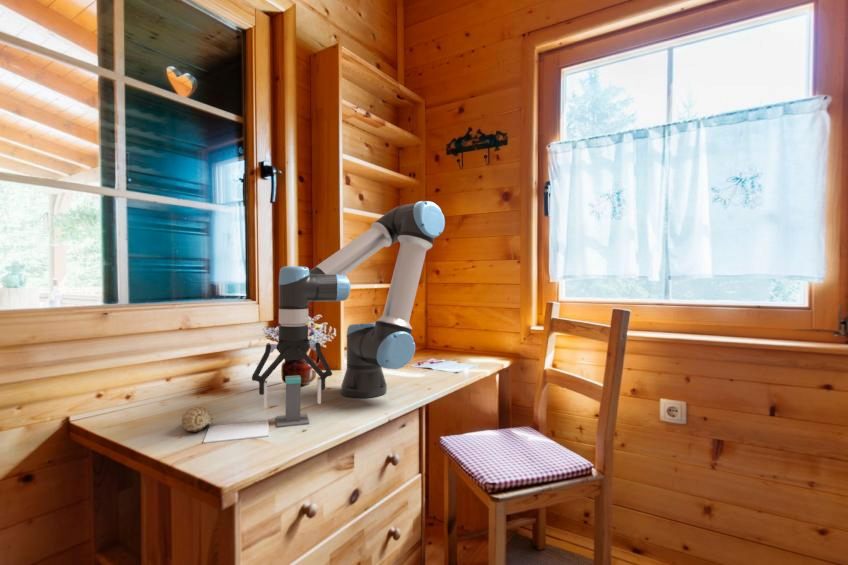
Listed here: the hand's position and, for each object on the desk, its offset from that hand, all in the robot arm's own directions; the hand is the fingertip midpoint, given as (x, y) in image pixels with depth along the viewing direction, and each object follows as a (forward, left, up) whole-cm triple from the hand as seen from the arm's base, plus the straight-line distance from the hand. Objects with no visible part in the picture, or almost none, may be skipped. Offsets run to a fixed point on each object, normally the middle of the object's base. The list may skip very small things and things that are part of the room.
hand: (292, 404), depth 115 cm
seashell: (+23, -1, -4) cm, 24 cm away
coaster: (0, 0, -4) cm, 4 cm away
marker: (0, 0, -4) cm, 4 cm away
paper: (+13, +4, -4) cm, 14 cm away
